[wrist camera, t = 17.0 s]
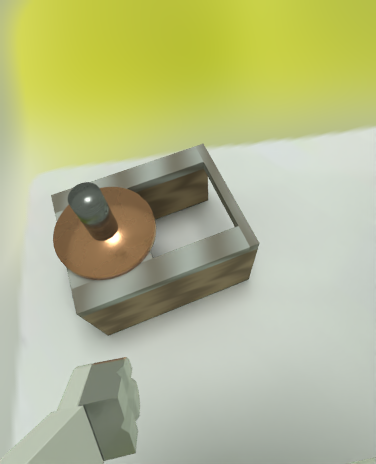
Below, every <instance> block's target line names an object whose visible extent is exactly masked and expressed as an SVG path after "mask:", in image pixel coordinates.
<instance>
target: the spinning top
mask: <svg viewBox="0 0 376 464" xmlns="http://www.w3.org/2000/svg"><path fill="white" fill-rule="evenodd" d="M68 204H69V205H68V206H67V207H66V208H65V210H64V211H63V212H62V214H61V215H60V217H59V218H58V221H57V223H56V226H55V229H54V234H53V243H54V248H55V252H56V254H57V256H58V258H59V259H60V261H61V262H62V263H63V264H64V265H65V266H66V267H67V268H68V269H69V270H70V271H72V272H73V273H74V274H76V275H78V276H80V277H83V278H86V279H91V280H108V279H113V278H116V277H119V276H122V275H124V274H126V273H128V272H130V271H131V270H133V269H134V268H135V267H137V266H138V265H139V264H140V263H141V262H142V261H143V260H144V259H145V258H146V256H147V255H148V254H149V252H150V250H151V248H152V246H153V244H154V240H155V236H156V223H155V219H154V216H153V212H152V210H151V208H150V206H149V204H148V203H147V202H146V200H145V199H144V198H143V197H141V196H140V195H139V194H137V193H135V192H134V191H131V190H129V189H125V188H121V187H103V188H99V187H98V186H97V185H96V184H94V183H90V182H86V183H81V184H78V185H77V186H75V187H74V188H73V189H72V190H71V191H70V192H69V194H68Z"/></svg>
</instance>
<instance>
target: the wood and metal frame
mask: <svg viewBox="0 0 376 464" xmlns="http://www.w3.org/2000/svg"><path fill="white" fill-rule="evenodd" d="M208 177H209V179H210V181H211V183H212V185H213V187H214V189H215V190H216V192H217V194H218V196H219V198H220V200H221V202H222V203H223V205H224V207H225V209H226V211H227V213H228V215H229V216H230V218H231V220H232V222H233V224H234V226H235V227H234V228H232V229H229V230H226V231H224V232H221V233H218V234H216V235H213V236H210V237H208V238H205V239H203V240H200V241H197V242H195V243H192V244H189V245H187V246H184V247H181V248H179V249H176V250H173V251H171V252H168V253H166V254H163V255H160V256H158V257H155V258H153V257H152V254H151V252H149V254H148V255H147V256H146V258H145V259H144V260H143V261H142V262H141V263H140V264H139V265H138V266H137V267H135V268H134V269H133V270H131V271H130V272H128V273H126V274H124V275H122V276H119V277H116V278H113V279H108V280H91V279H86V278H83V277H80V276H78V275H76V274H74V273H73V272H72V271H70V270H69V269H68V268H67V272H68V276H69V281H70V286H71V290H72V295H73V300H74V304H75V309H76V314H77V315H79V316H80V317H82V318H83V319H85V320H86V321H88V322H89V323H91V324H92V325H93V326H95V327H96V328H98V329H99V330H101V331H102V332H104V333H105V334H107V335H111V334H113V333H116V332H118V331H121V330H123V329H126V328H128V327H131V326H133V325H136V324H138V323H141V322H143V321H146V320H148V319H151V318H153V317H156V316H158V315H161V314H163V313H166V312H168V311H171V310H173V309H176V308H178V307H181V306H183V305H186V304H188V303H191V302H193V301H196V300H198V299H201V298H203V297H205V296H208V295H210V294H213V293H215V292H218V291H220V290H223V289H225V288H228V287H230V286H233V285H235V284H238V283H240V282H243V281H245V280H248V279H249V276H250V273H251V269H252V266H253V263H254V260H255V256H256V253H257V250H258V246H259V242H258V240H257V238H256V236H255V234H254V233H253V231H252V229H251V227H250V226H249V224H248V222H247V220H246V219H245V217H244V215H243V213H242V211H241V210H240V208H239V206H238V204H237V203H236V201H235V199H234V197H233V195H232V194H231V192H230V190H229V188H228V187H227V185H226V183H225V181H224V180H223V178H222V176H221V174H220V172H219V171H218V169H217V167H216V165H215V164H214V162H213V160H212V158H211V157H210V155H209V153H208V151H207V149H206V148H205V146H204V144H201V145H198V146H195V147H192V148H189V149H186V150H183V151H180V152H177V153H174V154H172V155H169V156H166V157H163V158H160V159H157V160H154V161H151V162H148V163H145V164H142V165H139V166H136V167H133V168H130V169H127V170H124V171H121V172H118V173H116V174H113V175H110V176H107V177H104V178H101V179H98V180H95V181H92V182H90V183H94V184H96V185H97V186H98V187H99V188H103V187H121V188H125V189H129V190H131V191H134V192H135V193H137V194H139V195H140V196H141V197H143V198H144V199H145V200H146V202H147V203H148V204H149V206H150V208H151V210H152V212H153V216H154V219H157V218H160V217H163V216H166V215H168V214H171V213H174V212H177V211H179V210H182V209H185V208H188V207H190V206H193V205H196V204H199V203H201V202H204V201H207V200H208ZM72 189H73V188H71V189H68V190H65V191H62V192H60V193H57V194H54V195H51V197H52V202H53V206H54V211H55V216H56V220H57V221H58V218H59V217H60V215H61V214H62V212H63V211H64V210H65V208H66V207H67V206H68V205H69V204H68V194H69V192H70V191H71V190H72Z"/></svg>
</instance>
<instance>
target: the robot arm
mask: <svg viewBox="0 0 376 464" xmlns="http://www.w3.org/2000/svg"><path fill="white" fill-rule="evenodd" d="M131 374H132V367H131V364H130V361H129V359H128V358H127V357H124V358H119V359H114V360H108V361H103V362H98V363H94V364H88V365H83V366H78V367H76V368H75V369H74V370H73V373H72V375H71V378H70V380H69V382H68V385H67V387H66V390H65V392H64V395H63V397H62V400H61V402H60V404H59V407H58V409H57V411H55V412H51V413H50V414H49V415H48V416H47V417H46V418H45V419H44V420H42V421H41V422H40V423H39V424H38V425H37V426H36V427H35V428H34V429H33V430H32V431H31V432H29V433H28V434H27V435H26V436H25V437H24V438H23V439H22V440H21V441H20V442H19V443H18V444H17V445H15V446H14V447H13V448H12V449H11V450H10V451H9V452H8V453H7V454H6V455H5V456H4V457H3V458H1V459H0V464H104V462H103V461H106V460H110V459H114V458H118V457H122V456H126V455H130V454H134V453H136V445H137V435H138V429H137V426H136V422H135V421H136V420H137V419H138V417H139V414H140V398H139V392H138V387H137V383H136V381H135V380H134V379H132V378H131ZM347 464H376V457H375V458H370V459H366V460H361V461H357V462H352V463H347Z"/></svg>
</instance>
